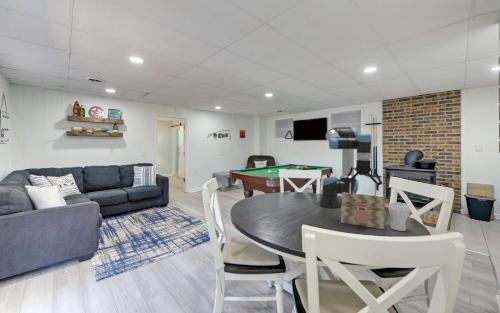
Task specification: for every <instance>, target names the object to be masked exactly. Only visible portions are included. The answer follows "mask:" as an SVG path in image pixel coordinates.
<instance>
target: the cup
mask: <svg viewBox="0 0 500 313" xmlns="http://www.w3.org/2000/svg"><path fill="white" fill-rule="evenodd" d="M387 210H388V211H387V212H388V213H389V217H390V219H391V223H390V229H392V230H394V231H398V232H399V231H400V232H404V231H407V227H406V222H407V219H408V218H409V216H410V213H411V209H410V205H409V204H407V203H404V202H399V201H398V202H397V201H392V202H389V204H388V208H387Z"/></svg>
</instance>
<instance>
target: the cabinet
mask: <svg viewBox="0 0 500 313" xmlns="http://www.w3.org/2000/svg"><path fill="white" fill-rule="evenodd" d="M367 221H368V207H367V204H364V203H358V206H357V209H356V222H357V223H364V224H367Z"/></svg>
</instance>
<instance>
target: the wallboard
mask: <svg viewBox="0 0 500 313" xmlns="http://www.w3.org/2000/svg"><path fill="white" fill-rule="evenodd" d="M385 198H386V197H385V196H383V195H376V196H375V195H372V194H361V193H356V194H354V193H351V194H349V193H344V192H342V194H341V204H340V223H341V224H342V223H343V224H348V225H354V226H355V225H356V226H360V225H361V226H362V227H368V228H375V229H379V230H380V229H381V230H384V229H385V210H386V209H385ZM358 203H364V204H367V207H368V221H367V224H364V223H357V222H356V209H357V206H358Z"/></svg>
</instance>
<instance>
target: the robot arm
mask: <svg viewBox="0 0 500 313" xmlns="http://www.w3.org/2000/svg"><path fill="white" fill-rule="evenodd" d="M325 139H326V140H327V141H328V148H329V149H330V150H341V152H342V153H341V155H342V157H341V160H342V161H341V162H342V163H341V168H342V169H341V173H342V174H341V175H340V176H339V178H338V177H336V176H329V177H324V178H323V179H322V183H321V185H322V187H321V190H322V191H321V192H322V193H321V199H320V201H319V205H320V206H321V207H322V208H326V209H338V208H340V202H339V198H338V194H340V195H342V192H344V193H349V194H351V193H354V194H358V193H357V192H358V190H359V179H357V178H356V177H358V176H359V175H360V176H368V177H369V178H370V179H371V181H373V182H374V183H375V184H374V195H375V196H377V192H379V188H380V186H381V185H383V182H382V179H381V177H380V176H379V173H378V172H377V168H376V167H374V168H371V164H372V163H371V162H372V161H371V157H372V141H373V140H372V134H370V133H360V134H359V131H358V128H356V127H354V126H348V127H347V126H343V127H333V128H331V129H330V128H329V130H327V131H326V133H325ZM355 150H356V160H355ZM355 161H356V164H355ZM355 165H356V166H355ZM371 171H372V172H373V174H375V177H376V179H375V178H374V177H373V175H372V174H371ZM355 172H356V173H355Z"/></svg>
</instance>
